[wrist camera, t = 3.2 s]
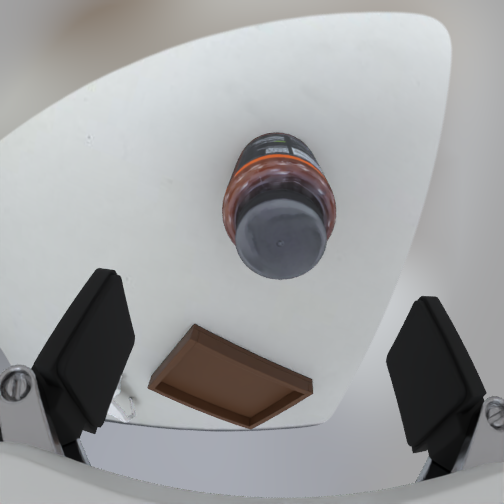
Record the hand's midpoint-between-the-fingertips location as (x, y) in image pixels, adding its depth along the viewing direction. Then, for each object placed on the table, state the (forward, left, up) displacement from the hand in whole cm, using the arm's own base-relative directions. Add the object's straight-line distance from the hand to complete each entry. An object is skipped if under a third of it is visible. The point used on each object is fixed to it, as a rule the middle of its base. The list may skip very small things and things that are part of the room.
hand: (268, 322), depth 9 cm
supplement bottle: (0, 0, -16) cm, 16 cm away
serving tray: (-11, +25, -16) cm, 32 cm away
